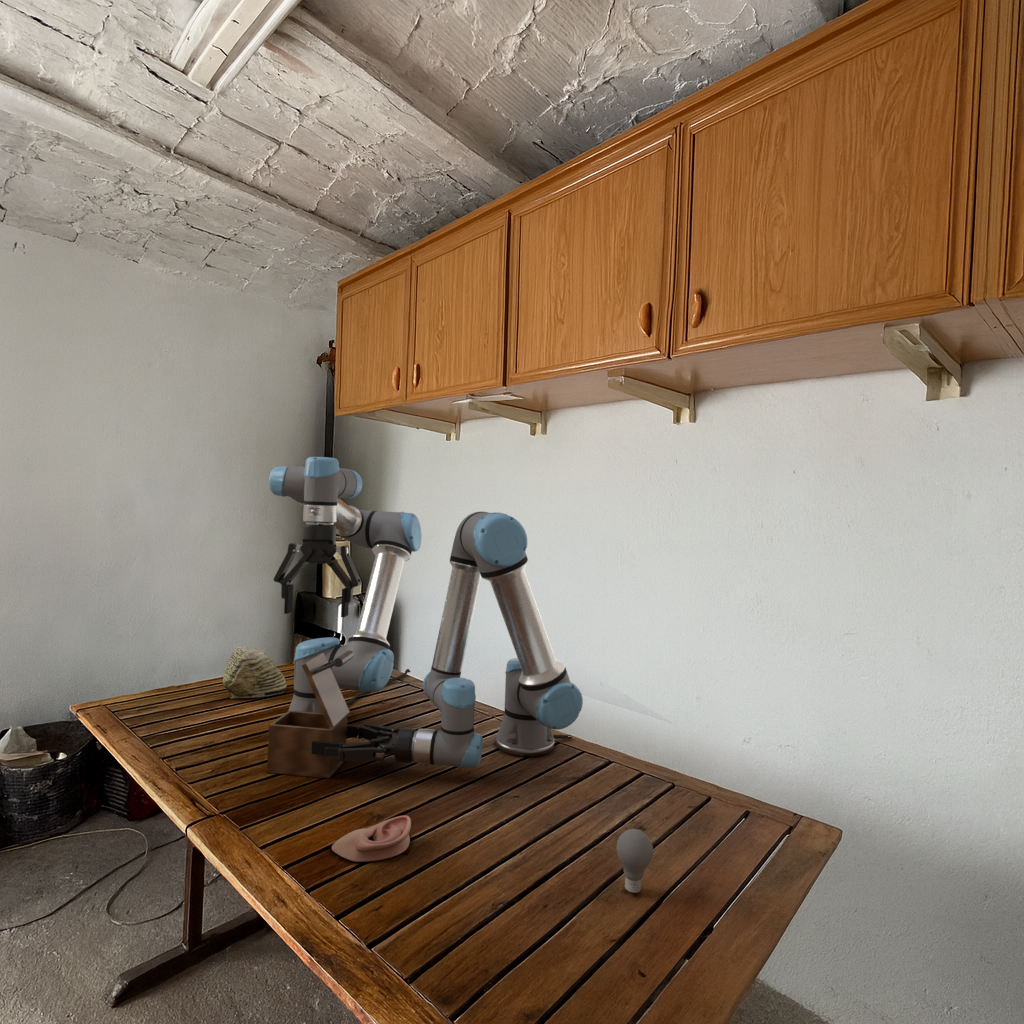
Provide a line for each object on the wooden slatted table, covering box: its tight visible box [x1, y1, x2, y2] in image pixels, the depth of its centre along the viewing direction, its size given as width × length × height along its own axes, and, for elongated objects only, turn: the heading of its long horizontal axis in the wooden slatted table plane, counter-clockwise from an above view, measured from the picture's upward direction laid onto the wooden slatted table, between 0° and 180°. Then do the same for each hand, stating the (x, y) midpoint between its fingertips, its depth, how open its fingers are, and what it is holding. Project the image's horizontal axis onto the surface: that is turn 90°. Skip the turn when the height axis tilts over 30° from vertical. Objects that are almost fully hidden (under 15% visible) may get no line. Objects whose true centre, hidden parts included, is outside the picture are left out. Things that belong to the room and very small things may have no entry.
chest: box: [266, 711, 348, 779], centre depth 148 cm, size 15×10×11 cm
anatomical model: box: [331, 814, 412, 863], centre depth 116 cm, size 13×4×12 cm
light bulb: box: [615, 828, 654, 894], centre depth 106 cm, size 6×6×10 cm
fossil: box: [222, 646, 288, 699], centre depth 198 cm, size 9×18×15 cm, turn 132°
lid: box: [302, 650, 354, 728], centre depth 147 cm, size 16×10×8 cm
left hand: (316, 614), depth 148 cm, fingers open, 13 cm apart
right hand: (321, 738), depth 148 cm, fingers closed on chest, 10 cm apart
